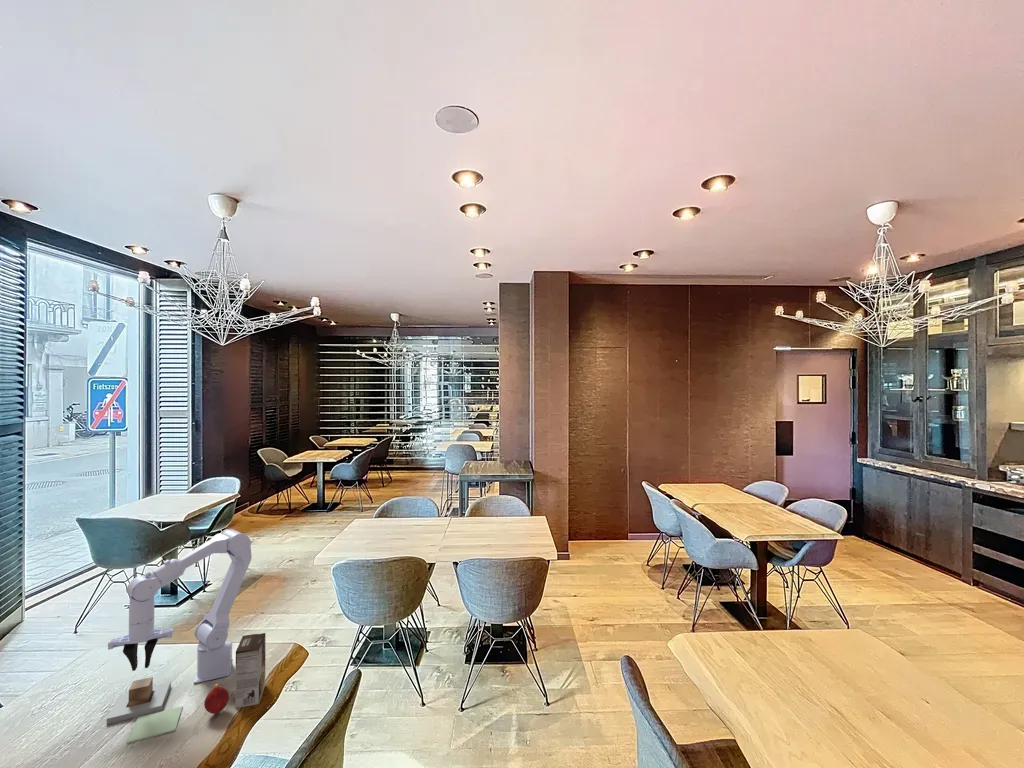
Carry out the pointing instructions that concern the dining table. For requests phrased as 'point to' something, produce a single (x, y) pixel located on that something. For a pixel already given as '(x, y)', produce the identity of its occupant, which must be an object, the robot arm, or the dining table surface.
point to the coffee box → (250, 670)
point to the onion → (216, 699)
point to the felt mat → (155, 724)
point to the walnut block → (141, 691)
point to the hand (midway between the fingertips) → (141, 667)
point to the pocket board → (155, 705)
